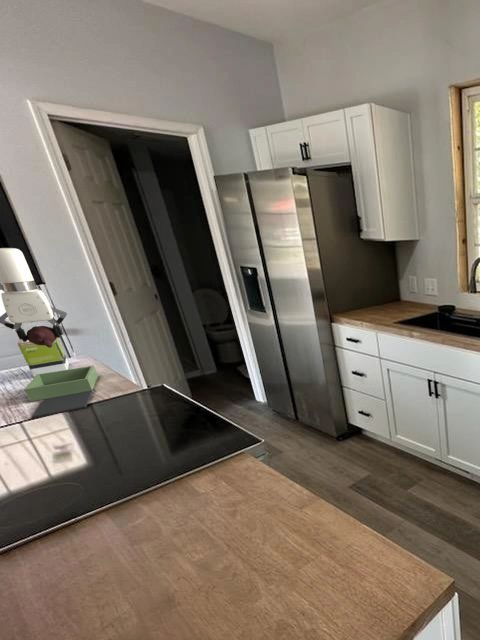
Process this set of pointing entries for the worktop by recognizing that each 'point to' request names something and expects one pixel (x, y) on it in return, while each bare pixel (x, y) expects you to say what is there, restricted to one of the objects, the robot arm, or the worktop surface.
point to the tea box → (43, 357)
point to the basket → (61, 383)
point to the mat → (62, 404)
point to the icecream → (41, 335)
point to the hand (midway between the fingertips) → (42, 338)
